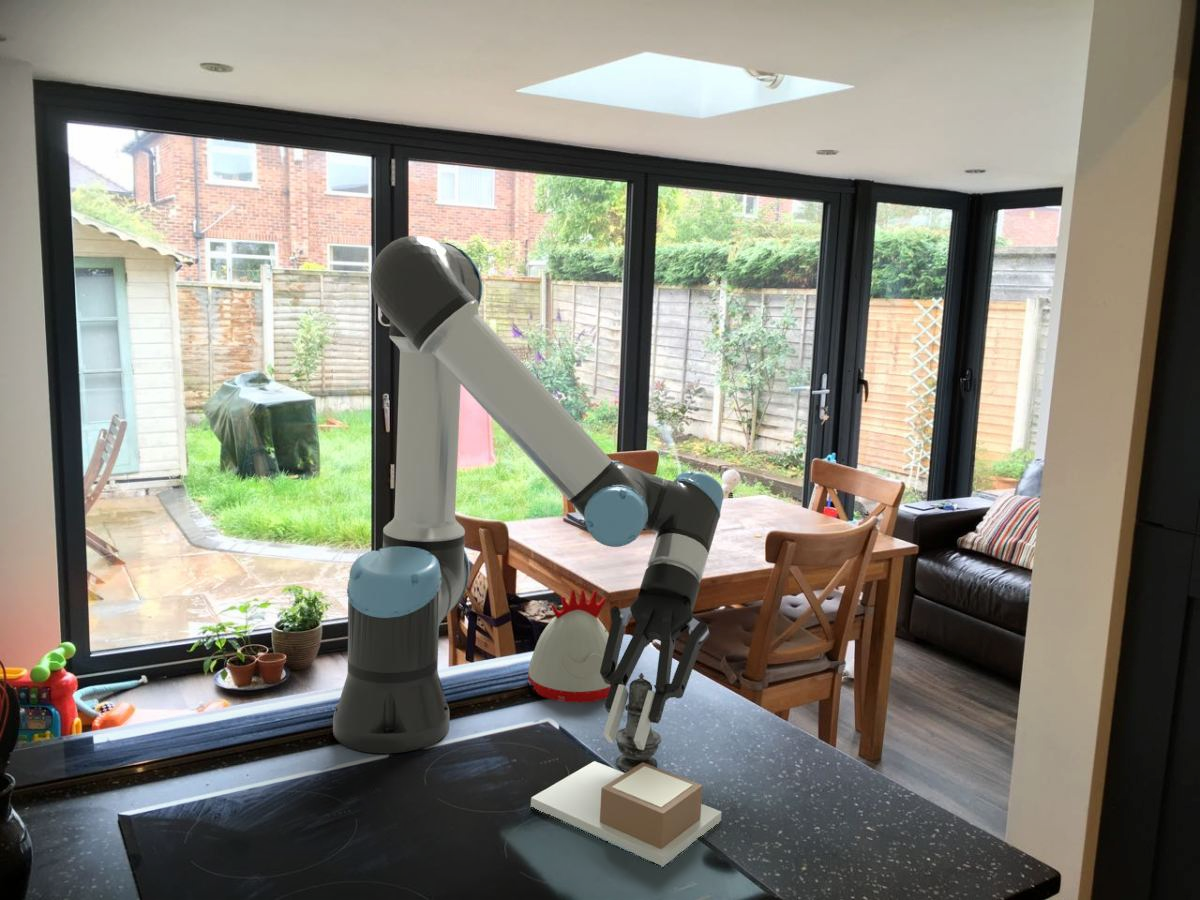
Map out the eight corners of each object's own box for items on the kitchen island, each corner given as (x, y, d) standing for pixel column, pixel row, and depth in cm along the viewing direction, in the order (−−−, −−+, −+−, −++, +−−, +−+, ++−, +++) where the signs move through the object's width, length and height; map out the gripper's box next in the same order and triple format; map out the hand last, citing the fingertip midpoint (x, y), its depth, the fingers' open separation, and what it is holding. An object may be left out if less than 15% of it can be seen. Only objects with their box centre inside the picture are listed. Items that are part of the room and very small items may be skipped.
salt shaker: (656, 777, 117) (661, 684, 115) (609, 770, 118) (614, 678, 116) (662, 756, 123) (668, 667, 121) (618, 750, 124) (622, 662, 122)
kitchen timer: (627, 701, 140) (632, 603, 138) (534, 704, 137) (538, 603, 135) (608, 666, 153) (613, 576, 151) (523, 668, 151) (527, 576, 148)
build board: (530, 807, 109) (532, 763, 108) (593, 770, 118) (596, 729, 117) (663, 867, 98) (666, 820, 97) (720, 821, 108) (724, 777, 107)
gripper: (735, 599, 127) (693, 768, 115) (622, 581, 133) (569, 739, 120) (729, 570, 122) (683, 744, 109) (610, 552, 128) (554, 715, 115)
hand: (623, 741), depth 115 cm, fingers closed on salt shaker, 3 cm apart
